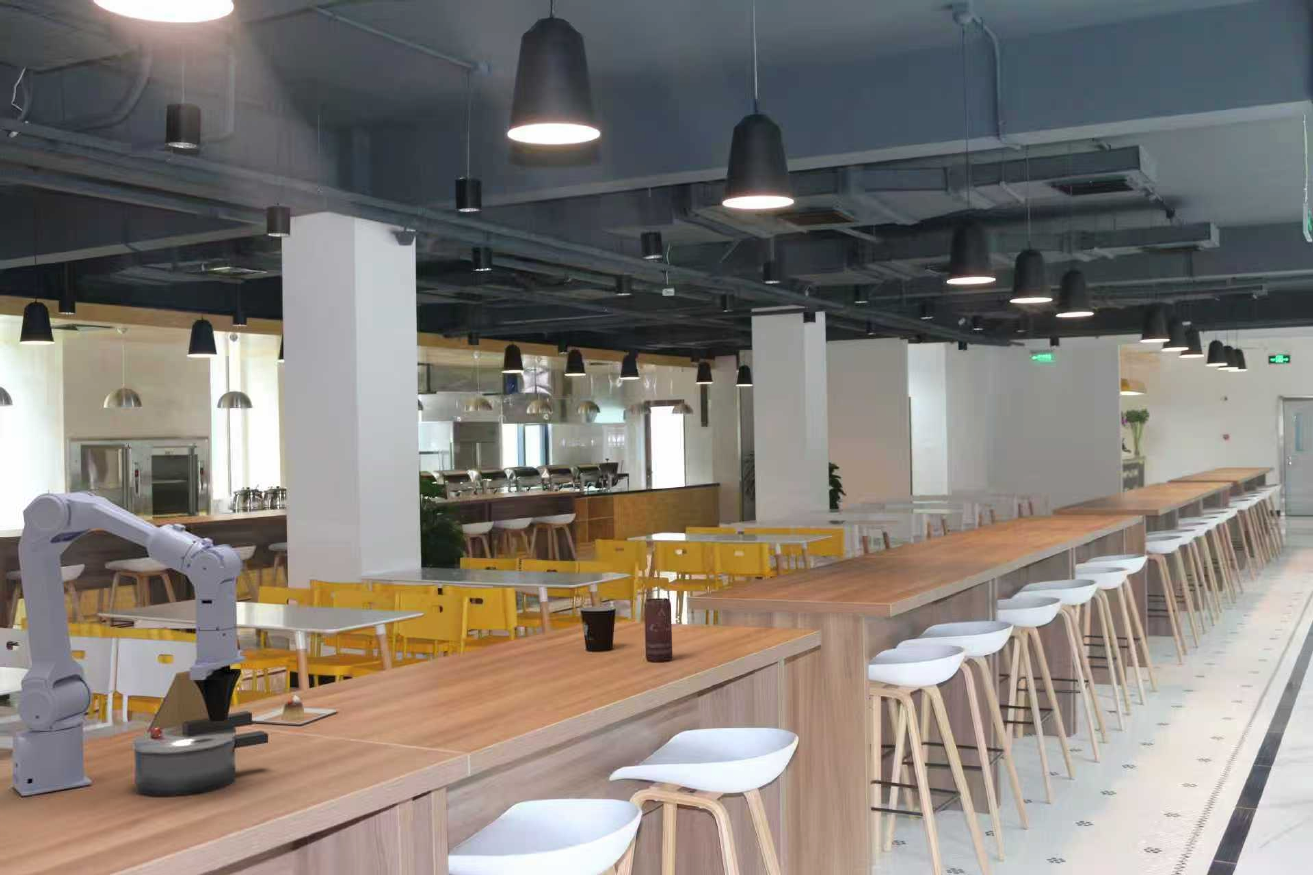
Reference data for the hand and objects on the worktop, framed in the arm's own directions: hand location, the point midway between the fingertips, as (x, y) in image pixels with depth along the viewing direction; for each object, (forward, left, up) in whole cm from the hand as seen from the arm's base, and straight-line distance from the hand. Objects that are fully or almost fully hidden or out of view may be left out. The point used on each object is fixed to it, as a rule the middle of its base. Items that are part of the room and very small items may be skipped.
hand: (218, 720), depth 179 cm
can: (+112, +38, -10) cm, 119 cm away
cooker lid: (-2, +6, -3) cm, 7 cm away
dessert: (+26, +39, -10) cm, 48 cm away
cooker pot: (-1, +5, -10) cm, 11 cm away
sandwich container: (+2, +26, -10) cm, 28 cm away
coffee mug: (+112, +62, -10) cm, 128 cm away
